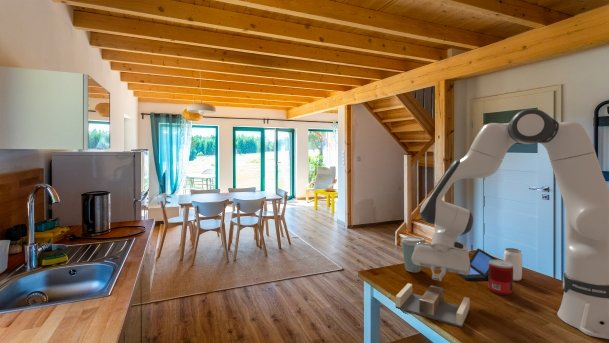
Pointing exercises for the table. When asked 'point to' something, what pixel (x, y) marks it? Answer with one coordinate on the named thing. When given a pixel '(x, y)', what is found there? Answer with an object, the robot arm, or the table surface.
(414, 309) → the rubber mat with end rails
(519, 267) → the can
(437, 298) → the walnut block
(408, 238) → the disposable coffee cup
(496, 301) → the table surface
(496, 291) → the canned food
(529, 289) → the table surface
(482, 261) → the handheld game console
